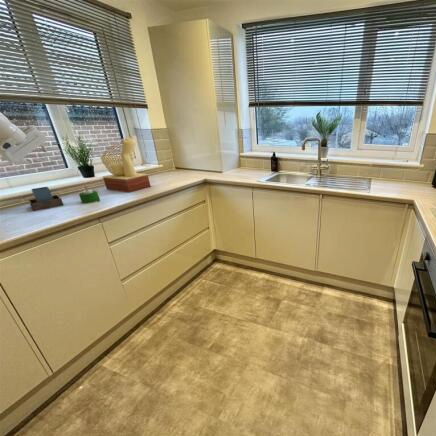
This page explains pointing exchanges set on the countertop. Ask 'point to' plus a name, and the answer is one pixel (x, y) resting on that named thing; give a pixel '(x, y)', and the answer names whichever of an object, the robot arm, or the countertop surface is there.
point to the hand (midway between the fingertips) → (38, 157)
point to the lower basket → (46, 203)
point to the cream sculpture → (123, 169)
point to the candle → (89, 196)
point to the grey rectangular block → (42, 194)
